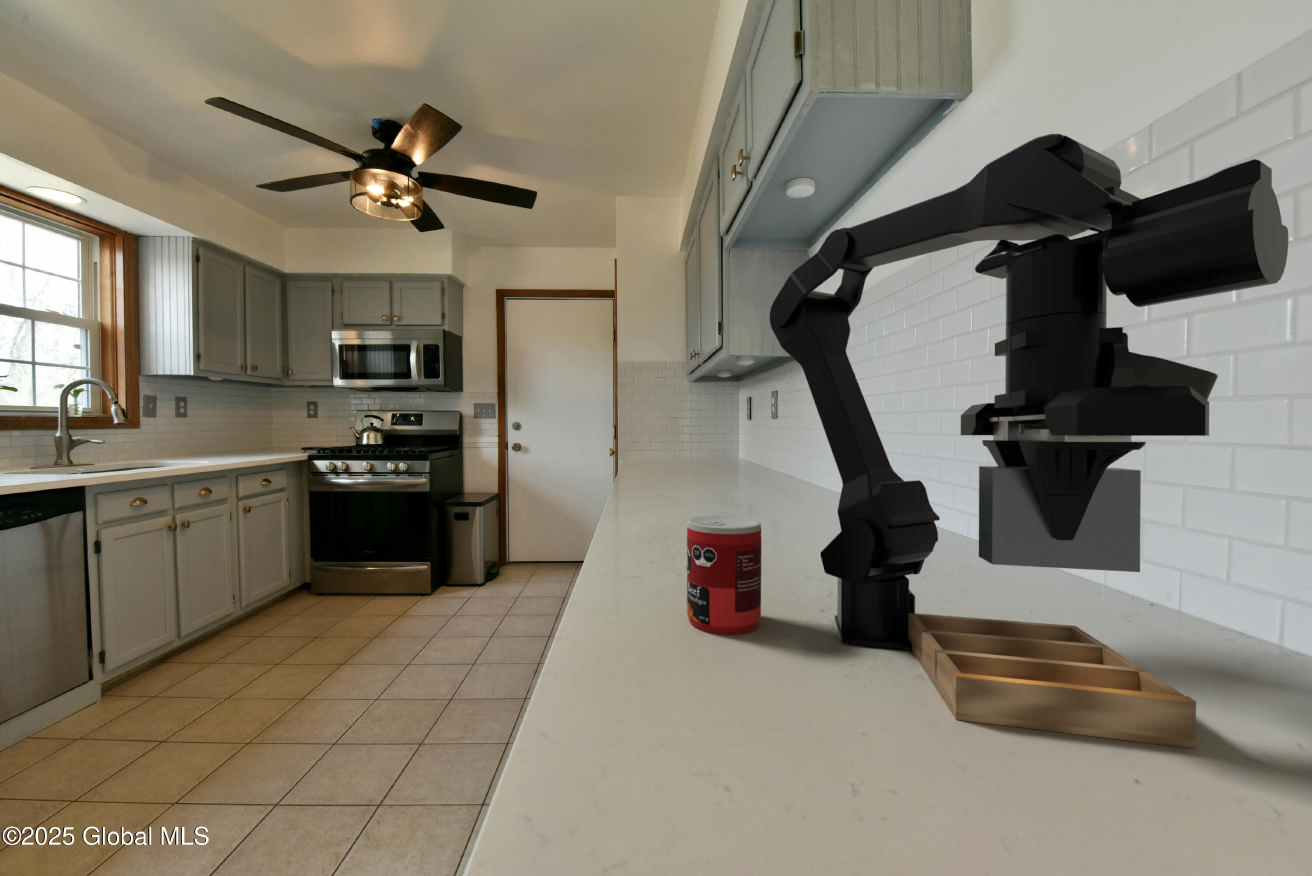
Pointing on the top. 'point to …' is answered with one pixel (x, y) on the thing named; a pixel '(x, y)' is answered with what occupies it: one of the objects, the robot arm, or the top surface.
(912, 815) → the top surface
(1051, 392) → the robot arm
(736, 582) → the canned food
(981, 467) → the panel
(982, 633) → the tray
